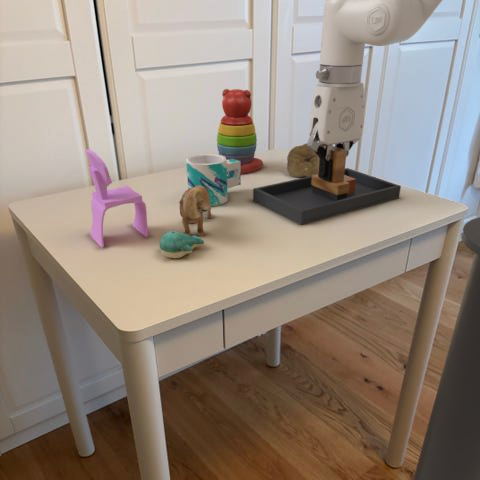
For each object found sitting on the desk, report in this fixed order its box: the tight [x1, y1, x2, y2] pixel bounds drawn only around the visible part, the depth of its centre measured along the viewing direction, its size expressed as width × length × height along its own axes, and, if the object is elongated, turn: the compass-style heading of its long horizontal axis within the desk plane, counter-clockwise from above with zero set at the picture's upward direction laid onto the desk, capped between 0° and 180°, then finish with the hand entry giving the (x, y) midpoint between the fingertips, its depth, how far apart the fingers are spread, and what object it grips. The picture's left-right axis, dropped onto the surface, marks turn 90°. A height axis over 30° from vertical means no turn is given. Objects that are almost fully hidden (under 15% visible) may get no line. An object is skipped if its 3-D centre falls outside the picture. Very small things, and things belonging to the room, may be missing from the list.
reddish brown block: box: [344, 175, 356, 195], centre depth 102 cm, size 4×4×3 cm
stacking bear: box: [216, 88, 264, 175], centre depth 115 cm, size 11×10×18 cm
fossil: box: [286, 142, 319, 178], centre depth 115 cm, size 9×4×10 cm
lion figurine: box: [179, 185, 213, 237], centre depth 87 cm, size 15×5×9 cm, turn 3°
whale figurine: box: [158, 230, 205, 259], centre depth 80 cm, size 6×7×4 cm
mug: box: [185, 153, 242, 208], centre depth 101 cm, size 8×12×8 cm
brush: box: [311, 145, 350, 201], centre depth 98 cm, size 8×3×10 cm, turn 33°
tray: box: [252, 167, 402, 226], centre depth 100 cm, size 26×16×3 cm, turn 123°
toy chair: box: [85, 148, 149, 249], centre depth 82 cm, size 8×9×15 cm
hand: (330, 176), depth 99 cm, fingers closed on brush, 2 cm apart
